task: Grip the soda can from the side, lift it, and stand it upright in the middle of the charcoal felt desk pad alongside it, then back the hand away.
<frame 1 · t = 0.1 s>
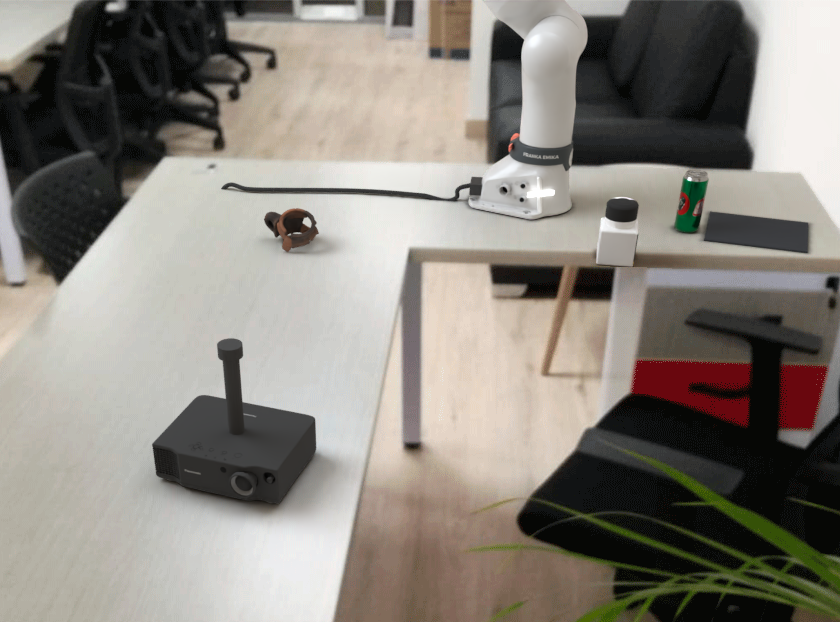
desk pad: (756, 232, 224), on the table
medicine bottle: (614, 259, 214), on the table
brown curved piece: (291, 243, 222), on the table
projector: (236, 470, 156), on the table
soda can: (686, 230, 226), on the table
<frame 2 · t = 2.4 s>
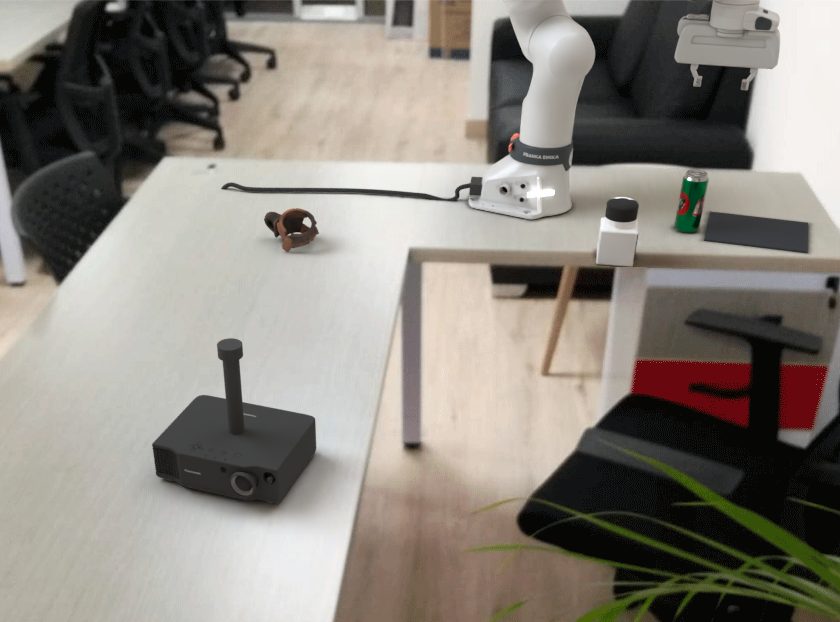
hand: (720, 87, 223), 25 cm above the table, tool pointing down, fingers open, 8 cm apart
nothing on the table moved.
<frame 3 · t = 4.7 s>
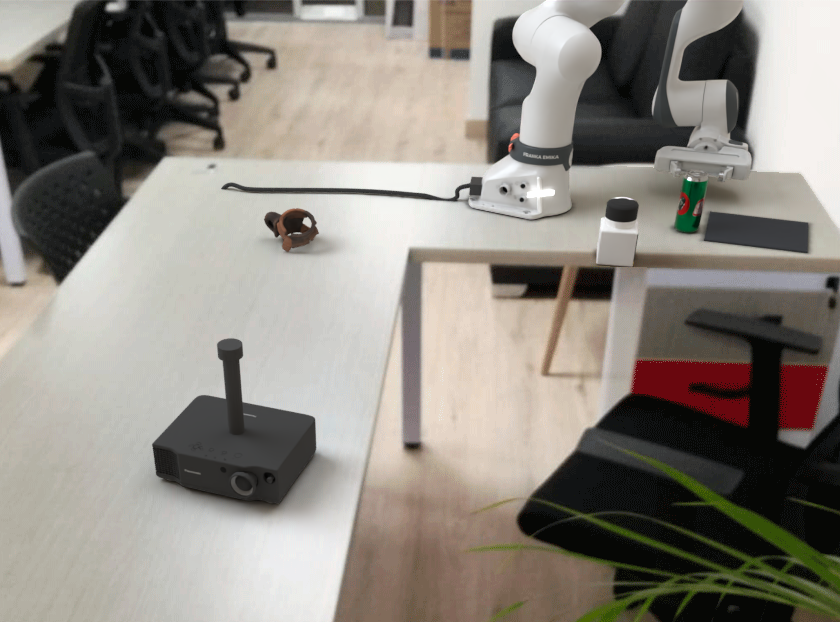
hand: (699, 175, 230), 7 cm above the table, tool horizontal, fingers open, 8 cm apart
nothing on the table moved.
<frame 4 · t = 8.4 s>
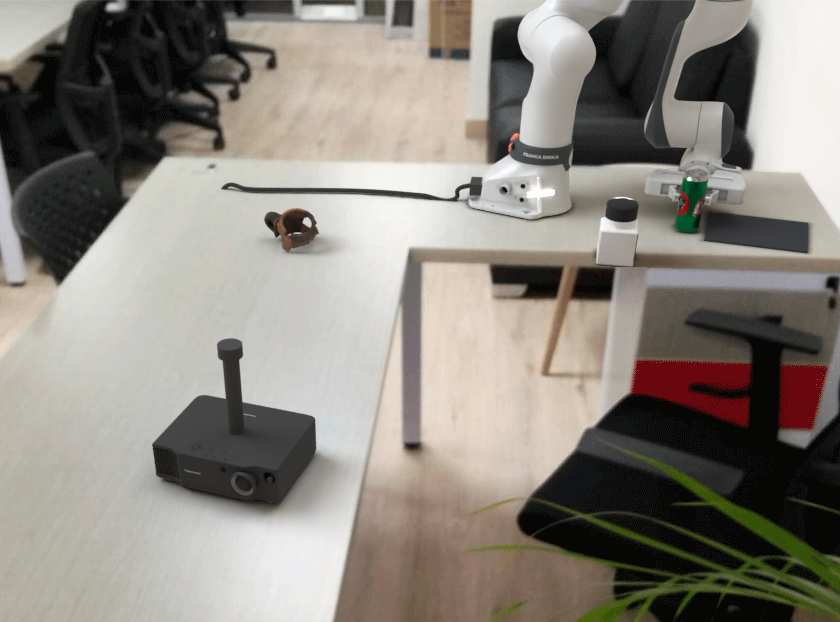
hand: (691, 200, 221), 7 cm above the table, tool horizontal, fingers closed on soda can, 5 cm apart
soda can: (686, 230, 226), on the table, touching gripper
everything else where it was.
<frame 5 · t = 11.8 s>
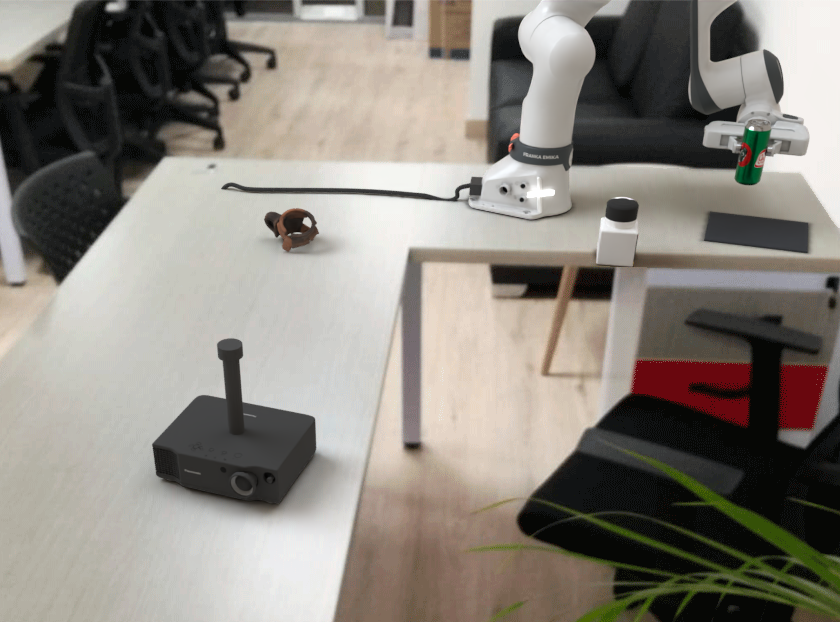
hand: (753, 150, 214), 17 cm above the table, tool horizontal, fingers closed on soda can, 5 cm apart
soda can: (746, 182, 219), point 10 cm above the table, touching gripper
everything else where it was.
when the fingers open (7 cm above the table, at t = 15.6 s): soda can stays where it is, resting on desk pad.
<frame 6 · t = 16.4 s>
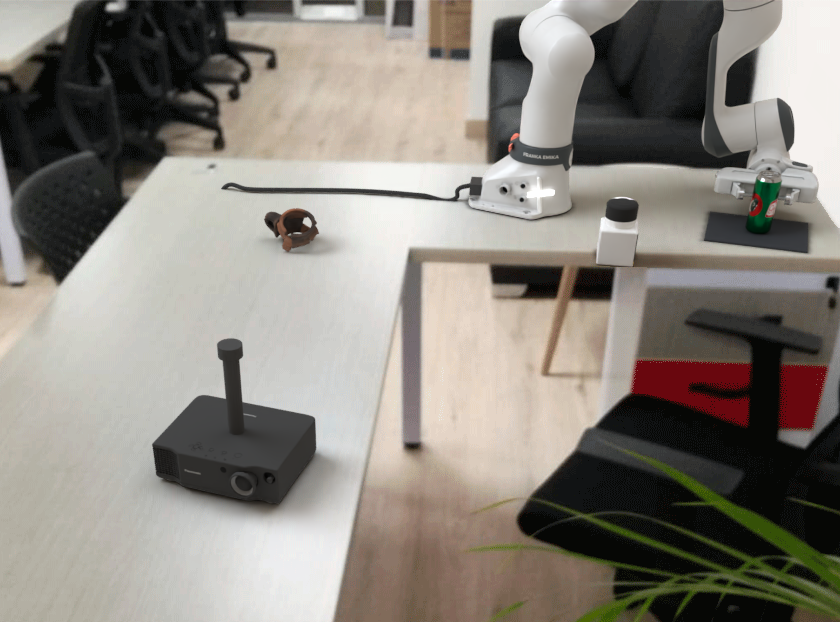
hand: (764, 198, 219), 8 cm above the table, tool horizontal, fingers open, 8 cm apart
soda can: (757, 231, 224), resting on desk pad
everything else where it was.
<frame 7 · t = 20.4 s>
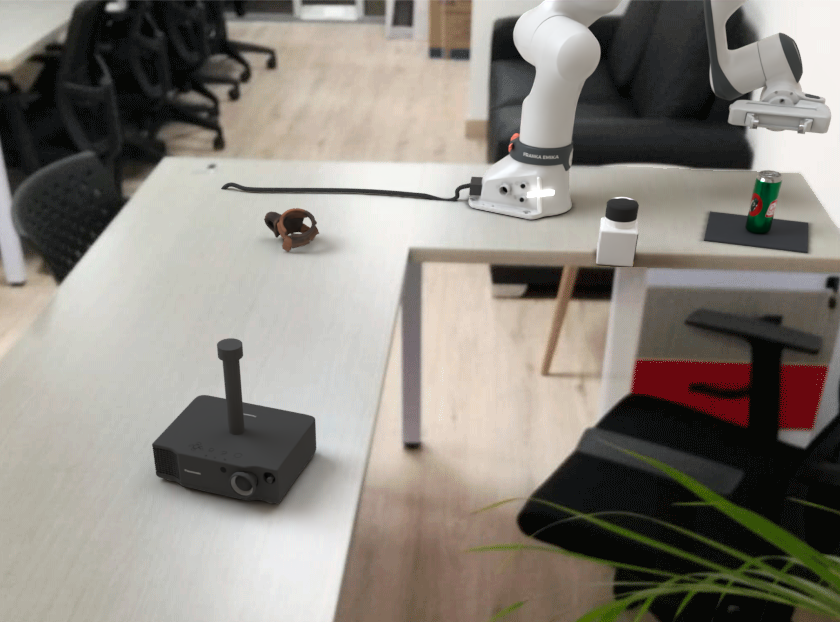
hand: (777, 127, 222), 18 cm above the table, tool horizontal, fingers open, 8 cm apart
nothing on the table moved.
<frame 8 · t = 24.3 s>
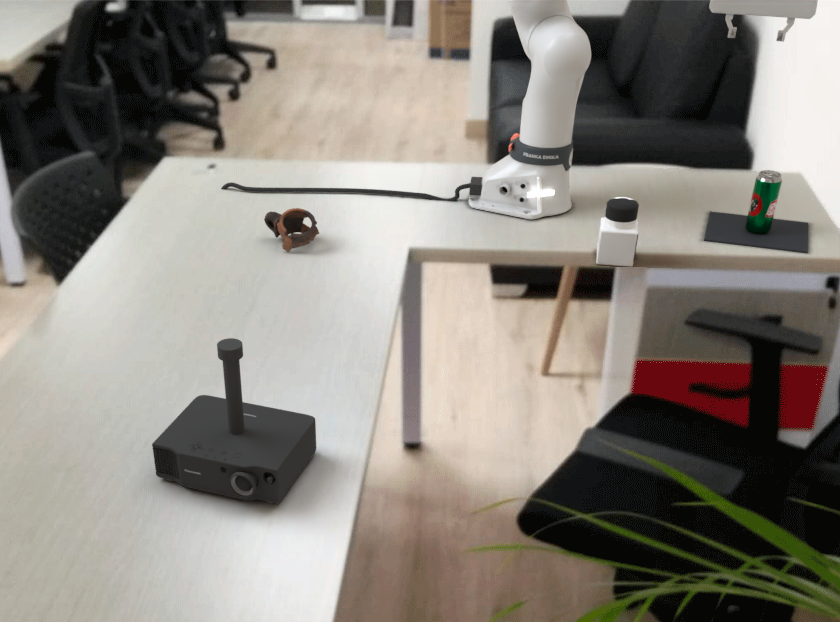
hand: (755, 39, 217), 34 cm above the table, tool pointing down, fingers open, 8 cm apart
nothing on the table moved.
at the end: soda can inside the target area on the desk pad (0.1 cm from its centre), point 0.1 cm above the desk pad's base; soda can tilted 0°; the gripper is holding nothing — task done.
